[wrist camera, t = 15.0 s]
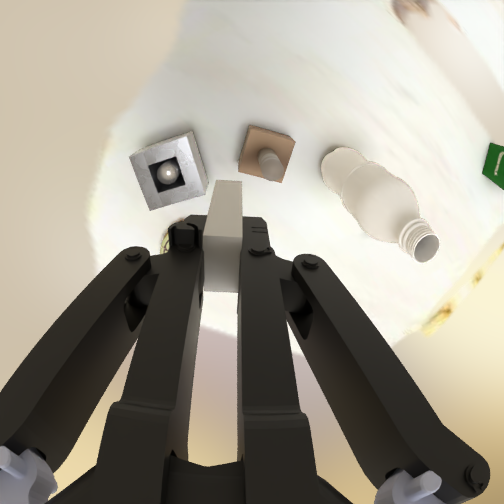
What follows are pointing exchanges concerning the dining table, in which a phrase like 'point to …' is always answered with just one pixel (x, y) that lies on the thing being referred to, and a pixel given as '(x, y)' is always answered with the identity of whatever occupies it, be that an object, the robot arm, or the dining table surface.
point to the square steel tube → (182, 187)
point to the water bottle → (379, 203)
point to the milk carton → (495, 165)
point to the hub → (169, 170)
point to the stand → (265, 154)
